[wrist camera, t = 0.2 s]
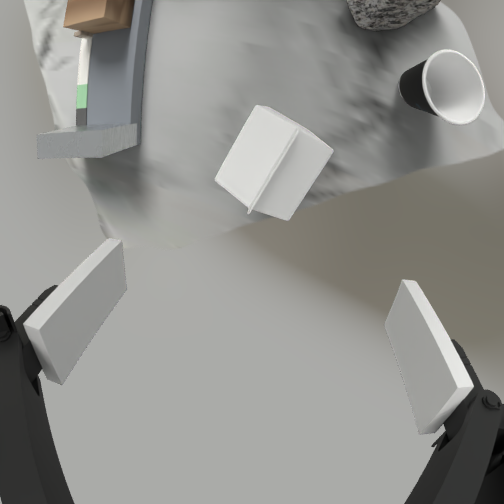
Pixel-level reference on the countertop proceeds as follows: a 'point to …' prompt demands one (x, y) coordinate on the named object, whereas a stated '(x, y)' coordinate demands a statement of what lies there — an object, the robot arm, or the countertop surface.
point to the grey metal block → (86, 141)
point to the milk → (273, 163)
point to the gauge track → (114, 73)
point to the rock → (388, 12)
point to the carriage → (97, 16)
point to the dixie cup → (445, 87)
